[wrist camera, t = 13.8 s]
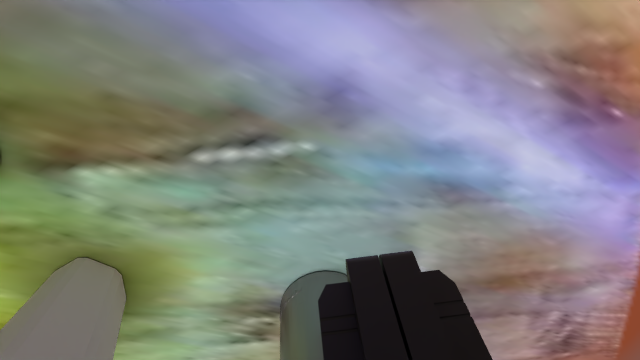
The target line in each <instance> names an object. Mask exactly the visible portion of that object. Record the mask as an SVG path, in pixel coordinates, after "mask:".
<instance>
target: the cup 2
mask: <svg viewBox="0 0 640 360" xmlns="http://www.w3.org/2000/svg"><path fill="white" fill-rule="evenodd" d="M125 302H126V294H125V289H124V284H123V279H122V275H121V274H120V273H119V272H118V271H117V270H116V269H115V268H112V267H110V266H107V265H105V264H102V263H99V262H97V261H94V260H92V259H89V258H76V259H75V260H73V261H71V262H70V263H68V264H66V265H64V266H63V267H61V268H59V269H58V270H56V271H54V272H53V273H52V275H51V276H50V277H49V278H48V279H47V280H46V281H45V282H44V283H43V284H42V285H41V287H40V288H39V289H38V290H37V291H36V292H35V293H34V294H33V295H32V296H31V297H30V299H29V300H28V301H27V302H26V303H25V304H24V305H23V306H22V307H21V308H20V310H19V311H18V312H17V313H16V314H15V315H14V316H13V317H12V318H11V319H10V320H9V322H8V323H7V324H6V325H5V326H4V327H3V328H2V329H1V330H0V360H113V356H114V352H115V347H116V343H117V338H118V334H119V329H120V325H121V320H122V316H123V311H124V307H125Z"/></svg>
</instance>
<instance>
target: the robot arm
mask: <svg viewBox="0 0 640 360" xmlns="http://www.w3.org/2000/svg"><path fill="white" fill-rule="evenodd" d="M346 270H347V276H346V275H344V274H341V273H337V272H327V271H324V272H315V273H312V274H309V275H306V276H304V277H302V278H300V279H298V280H297V281H295V282H294V283H293V284H291V286H290V287H289V288H288V289H287V290H286V292H285V294H284V295H283V297H282V301H281V305H280V360H492V357H491V355H490V353H489V351H488V349H487V347H486V345H485V343H484V341H483V339H482V337H481V335H480V333H479V331H478V329H477V327H476V325H475V323H474V321H473V319H472V317H470V312H469V310H468V308H467V306H466V304H465V303H464V302H463V298H462V296H461V294H460V292H459V290H458V288H457V286H456V284H455V283H454V282H453V281H452V280H451V279H449V278H448V277H447V276H446V275H445V274H443V273H442V272H441V271H440V270H434V271H427V272H421V271H420V268H419V266H418V263H417V261H416V259H415V256H414V254H413V252H412V251H405V252H398V253H390V254H382V255H379V258H378V256H377V255H375V256H367V257H359V258H352V259H346Z"/></svg>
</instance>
